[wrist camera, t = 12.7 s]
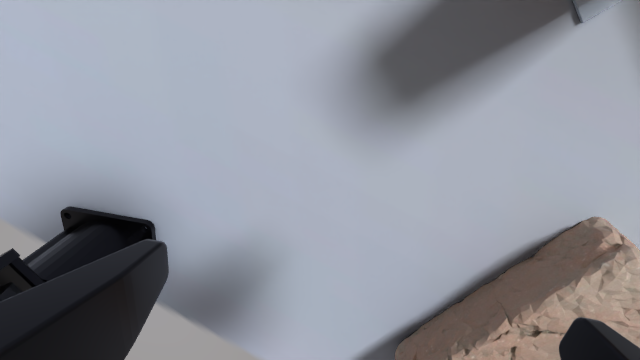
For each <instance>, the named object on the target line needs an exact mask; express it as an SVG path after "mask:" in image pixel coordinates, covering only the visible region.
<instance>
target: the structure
mask: <svg viewBox="0 0 640 360" xmlns="http://www.w3.org/2000/svg"><path fill="white" fill-rule="evenodd" d="M620 1H622V0H573V3H574V6H575V8H576V11H577V14H578V16H579V19H580V22H581V23H584V22H586V21H588V20H589V19H591V18H593V17H594V16H596V15H598V14H600V13H601V12H603V11H605V10H606V9H608V8H610V7H612V6H613V5H615V4H617V3H618V2H620Z"/></svg>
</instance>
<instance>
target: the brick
mask: <svg viewBox="0 0 640 360" xmlns="http://www.w3.org/2000/svg"><path fill="white" fill-rule="evenodd" d="M578 317H584V318H590V319H595V320H599V321H601V322H603V323H605V324H606V325H608V326H609V327H611V328H612V329H613V330H615V331H616V332H618V333H619V334H621V335H622V336H623V337H625V338H626V339H628V340H629V341H630V342H632V343H633V344H635V345H636V346H638V347H639V348H640V250H639V249H638V248H637V247H636V246H635V245H634V244H633V243H632V242H631V241H630V240H629V239H628V238H627V237H626V236H624V235H622V234H621V233H620V232H619V231H618V230H617V229H616V228H615V227H613V226H612V225H611V224H610V223H609V222H608V221H607V220H606V219H603V218H601V217H592V218H590V219H588V220H584V221H582V222H581V223H579V224H578V225H577V226H575V227H573V228H572V229H570V230H567V231H565V232H563V233H562V234H560V235H559V236H558V237H556V238H555V239H553V240H552V241H551V242H549V243H548V244H546V245H545V246H544V247H542V248H541V249H540V250H539V251H538V252H537V253H536V254H535V256H534V257H530V258H528V259H527V260H525V261H523V262H521V263H519V264H517V265H515V266H513V267H511V268H509V269H508V270H507V271H506V272H505V273H503V274H501V275H500V276H499V277H498V278H497V279H495V280H494V281H492V282H490V283H488V284H485V285H483V286H482V287H480V288H479V289H477V290H476V291H475V292H473V293H472V294H470V295H469V296H467V297H465V299H464V300H463V301H462V302H460V303H456V304H454V305H453V306H451V307H450V308H448V309H447V310H445V311H444V312H443V313H441V314H440V315H438V316H436V317H435V318H433V319H432V320H430V321H429V322H427V323H426V324H424V325H423V326H421V327H420V328H419V329H418V330H417V331H415V332H414V333H413V334H412V335H411V336H410V337H408V338H406V339H405V340H403V341H402V342H401V343H400V344H399V345H398V347H397V349H396V352H395V360H561V358H560V355H559V344H560V341H561V340H562V338H563V336H564V335H565V333H566V332H567V330H568V329H569V327H570V325H571V324H572V322H573V321H574V320H575V319H576V318H578Z"/></svg>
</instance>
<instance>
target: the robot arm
mask: <svg viewBox="0 0 640 360" xmlns="http://www.w3.org/2000/svg"><path fill="white" fill-rule="evenodd" d="M61 218H62V223H63V227H64V231H63V232H62V233H60V234H59V235H57V236H56V237H55V238H53V239H52V240H50V241H49V242H48V243H46V244H45V245H43V246H42V247H41V248H39V249H38V250H36V251H35V252H33V253H32V254H31V255H29V256H28V257H27V258H25V259H24V260H21V259H20V258H19V256H20V255H19V254H18V253H17V252H16V251H15V250H14V249H13V248H12V249H11V250H9V251H8V252H6V253H4V254H2V255H1V256H0V360H124V359H125V357H126V356H127V354H128V353H129V351H130V349H131V348H132V346H133V344H134V342H135V341H136V339H137V337H138V335H139V333H140V331H141V329H142V327H143V325H144V324H145V322H146V319H147V318H148V316H149V314H150V312H151V310H152V308H153V306H154V304H155V302H156V300H157V298H158V296H159V294H160V292H161V290H162V288H163V286H164V284H165V282H166V280H167V277H168V270H169V269H168V257H167V247H166V244H165V243H164V242H162V241H156V235H155V227H154V224H153V223H152V222H150V221H148V220H143V219H138V218H132V217H126V216H121V215H115V214H109V213H104V212H98V211H92V210H87V209H81V208H75V207H66V208H65V209H63V210H62V211H61ZM145 227H147V228H148V229H146V228H145ZM559 355H560V358H561V360H640V348H639V347H638V346H636V345H635V344H633V343H632V342H630V341H629V340H628V339H626V338H625V337H623V336H622V335H621V334H619V333H618V332H616V331H615V330H613V329H612V328H611V327H609V326H608V325H606V324H605V323H603V322H601V321H599V320H595V319H590V318H584V317H578V318H576V319H575V320H574V321H573V322H572V324H571V325H570V327H569V329H568V330H567V332H566V333H565V335H564V336H563V338H562V340H561V341H560V344H559Z"/></svg>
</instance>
